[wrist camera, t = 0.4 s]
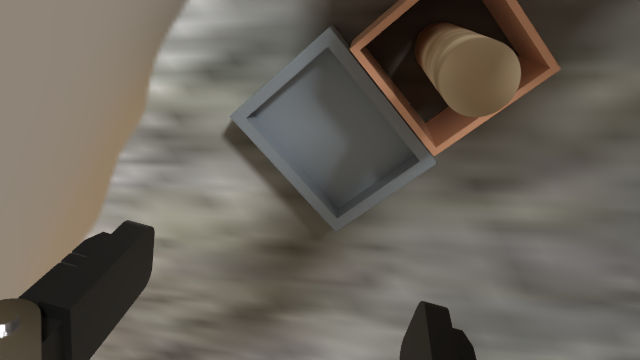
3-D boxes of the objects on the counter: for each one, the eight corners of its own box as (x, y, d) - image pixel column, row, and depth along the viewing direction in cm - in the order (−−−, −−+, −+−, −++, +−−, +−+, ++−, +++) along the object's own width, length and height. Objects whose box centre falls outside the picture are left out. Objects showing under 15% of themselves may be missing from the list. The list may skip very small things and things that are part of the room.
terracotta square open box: (457, -51, 32) (477, -60, 26) (527, 56, 34) (561, 69, 28) (352, 39, 35) (349, 49, 29) (423, 130, 38) (434, 156, 32)
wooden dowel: (445, 10, 34) (493, 21, 21) (474, 51, 35) (536, 84, 22) (404, 44, 35) (424, 74, 22) (432, 82, 36) (468, 131, 23)
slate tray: (332, 24, 35) (329, 27, 32) (432, 151, 38) (437, 163, 36) (239, 107, 39) (229, 116, 36) (337, 216, 42) (335, 232, 39)
